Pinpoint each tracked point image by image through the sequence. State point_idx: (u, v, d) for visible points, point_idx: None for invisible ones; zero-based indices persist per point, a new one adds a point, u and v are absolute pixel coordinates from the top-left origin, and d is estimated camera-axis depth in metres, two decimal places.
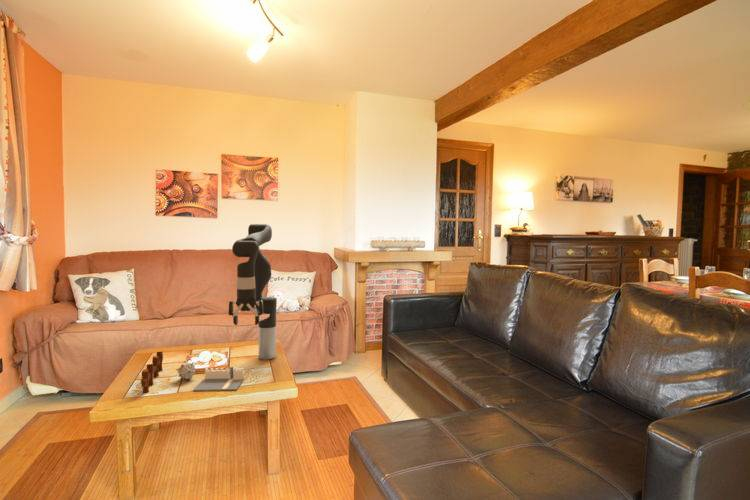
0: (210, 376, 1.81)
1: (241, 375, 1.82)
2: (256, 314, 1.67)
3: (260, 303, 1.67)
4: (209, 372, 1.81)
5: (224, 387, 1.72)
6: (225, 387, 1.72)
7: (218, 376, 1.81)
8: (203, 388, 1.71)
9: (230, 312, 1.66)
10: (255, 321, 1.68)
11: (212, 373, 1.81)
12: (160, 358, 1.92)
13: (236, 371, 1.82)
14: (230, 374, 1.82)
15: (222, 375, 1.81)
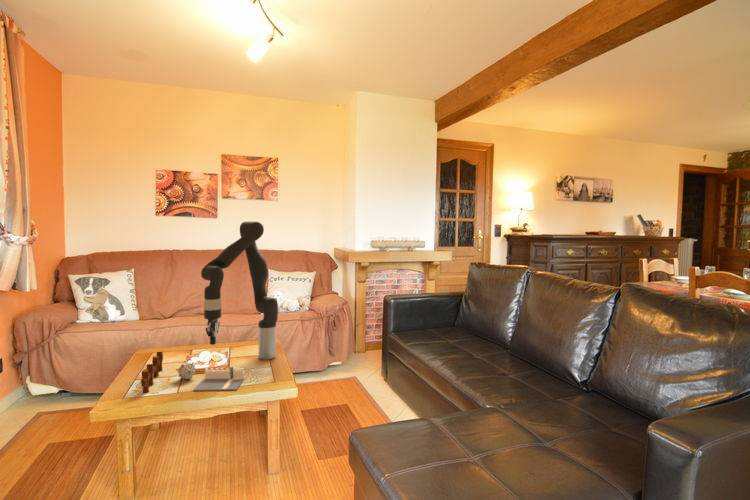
0: (210, 376, 1.81)
1: (241, 375, 1.82)
2: (215, 334, 1.86)
3: (219, 323, 1.91)
4: (209, 372, 1.81)
5: (224, 387, 1.72)
6: (225, 387, 1.72)
7: (218, 376, 1.81)
8: (203, 388, 1.71)
9: (213, 333, 1.83)
10: (215, 340, 1.86)
11: (212, 373, 1.81)
12: (160, 358, 1.92)
13: (236, 371, 1.82)
14: (230, 374, 1.82)
15: (222, 375, 1.81)
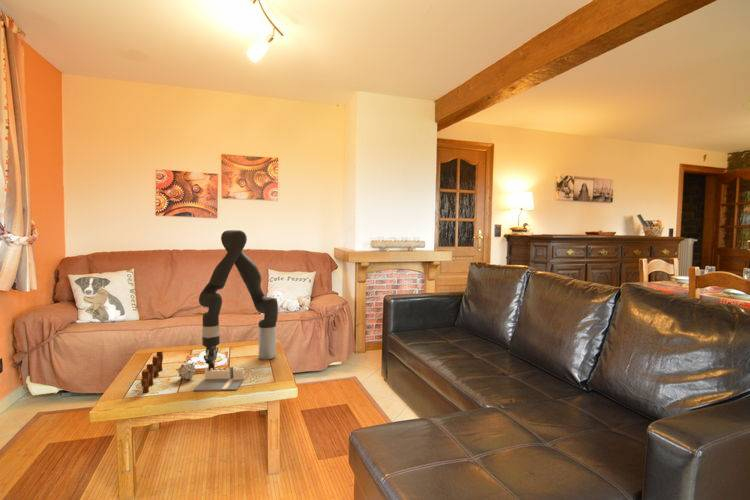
0: (210, 376, 1.81)
1: (241, 375, 1.82)
2: (214, 360, 1.84)
3: (217, 349, 1.89)
4: (209, 372, 1.81)
5: (224, 387, 1.72)
6: (225, 387, 1.72)
7: (218, 377, 1.81)
8: (203, 388, 1.71)
9: (212, 361, 1.81)
10: None
11: (212, 373, 1.81)
12: (160, 358, 1.92)
13: (236, 371, 1.82)
14: (230, 374, 1.82)
15: (222, 375, 1.81)
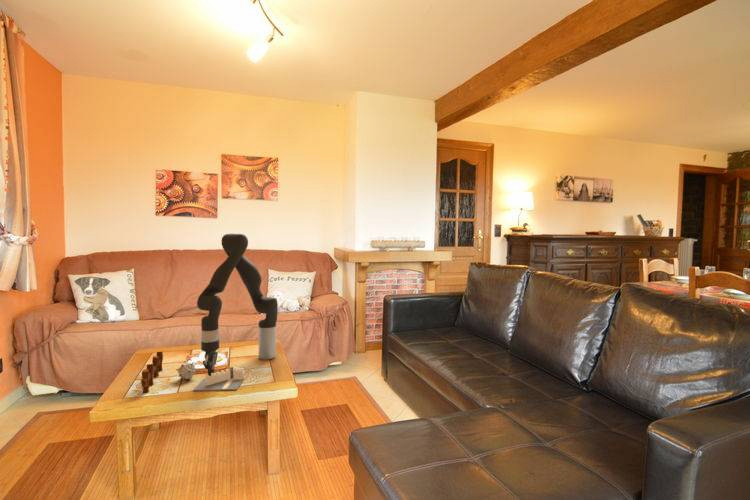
0: (212, 381, 1.75)
1: (241, 375, 1.82)
2: (214, 365, 1.78)
3: (217, 354, 1.82)
4: (211, 377, 1.74)
5: (224, 387, 1.72)
6: (225, 387, 1.72)
7: (220, 380, 1.77)
8: (203, 388, 1.71)
9: (211, 366, 1.75)
10: (213, 372, 1.77)
11: (214, 378, 1.75)
12: (160, 358, 1.92)
13: (236, 371, 1.82)
14: (231, 374, 1.81)
15: (224, 377, 1.79)
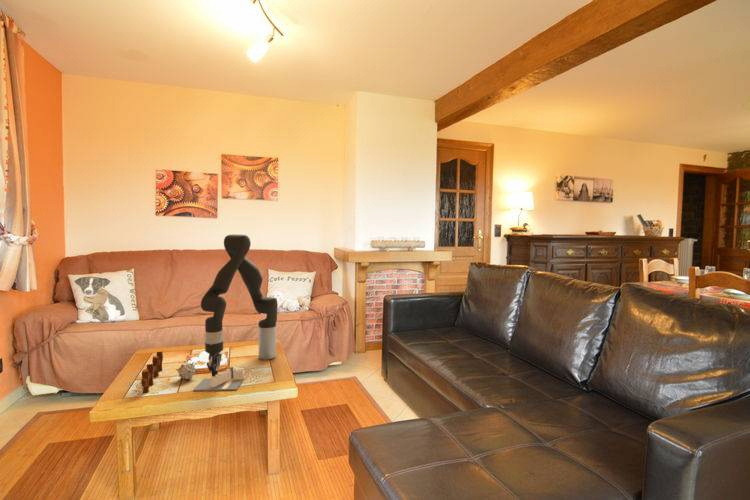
0: (217, 383, 1.73)
1: (241, 375, 1.82)
2: (217, 367, 1.76)
3: (221, 355, 1.80)
4: (216, 379, 1.73)
5: (224, 387, 1.72)
6: (225, 387, 1.72)
7: (223, 380, 1.77)
8: (203, 388, 1.71)
9: (215, 368, 1.73)
10: (217, 374, 1.75)
11: (218, 379, 1.74)
12: (160, 358, 1.92)
13: (236, 371, 1.82)
14: (231, 374, 1.81)
15: (226, 377, 1.78)
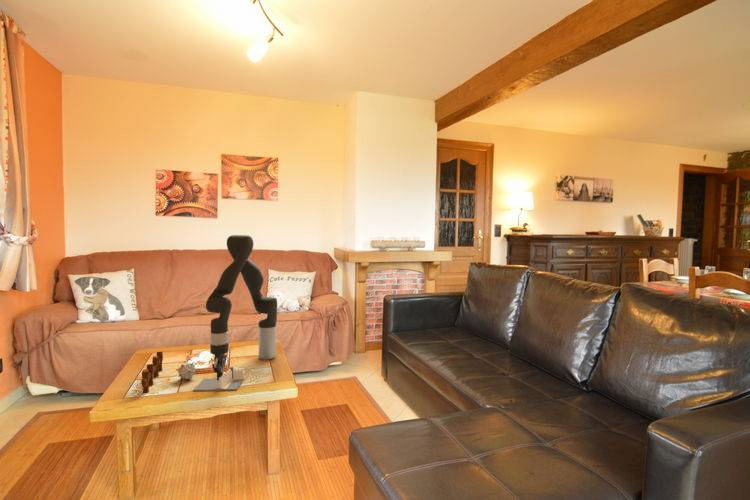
0: (224, 383, 1.73)
1: (241, 375, 1.82)
2: (223, 369, 1.74)
3: (226, 357, 1.78)
4: (223, 379, 1.72)
5: (224, 387, 1.72)
6: (225, 387, 1.72)
7: (227, 381, 1.76)
8: (203, 388, 1.71)
9: (220, 369, 1.71)
10: None
11: (224, 379, 1.73)
12: (160, 358, 1.92)
13: (236, 371, 1.82)
14: (232, 374, 1.82)
15: (229, 377, 1.78)
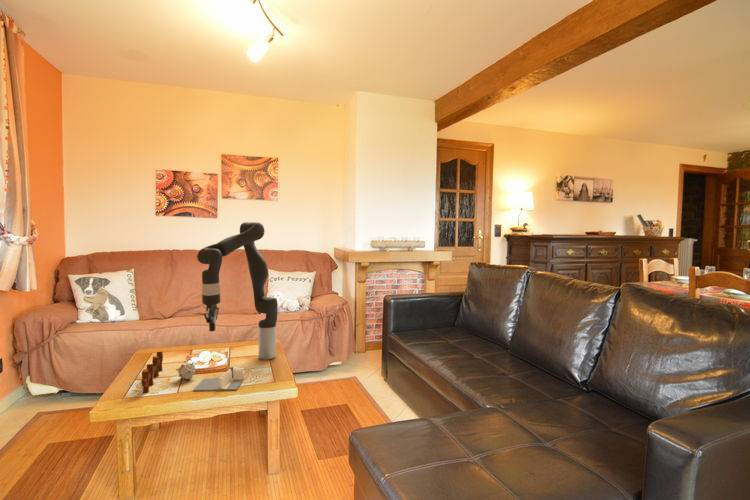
0: (224, 383, 1.73)
1: (241, 375, 1.82)
2: (215, 320, 1.77)
3: (218, 309, 1.81)
4: (223, 379, 1.72)
5: (224, 387, 1.72)
6: (225, 387, 1.72)
7: (227, 381, 1.76)
8: (203, 388, 1.71)
9: (212, 320, 1.74)
10: None
11: (224, 379, 1.73)
12: (160, 358, 1.92)
13: (236, 371, 1.82)
14: (232, 374, 1.82)
15: (229, 377, 1.78)
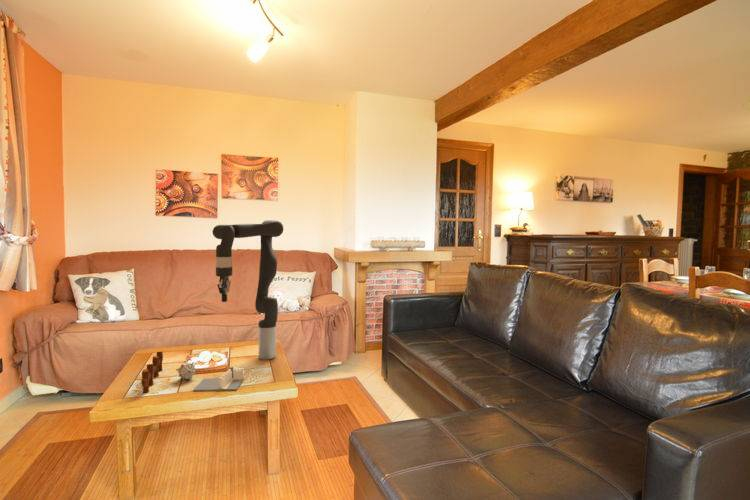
0: (224, 383, 1.73)
1: (241, 375, 1.82)
2: (227, 291, 1.90)
3: (230, 282, 1.95)
4: (223, 379, 1.72)
5: (224, 387, 1.72)
6: (225, 387, 1.72)
7: (227, 381, 1.76)
8: (203, 388, 1.71)
9: (225, 291, 1.87)
10: (226, 298, 1.90)
11: (224, 379, 1.73)
12: (160, 358, 1.92)
13: (236, 371, 1.82)
14: (232, 374, 1.82)
15: (229, 377, 1.78)
